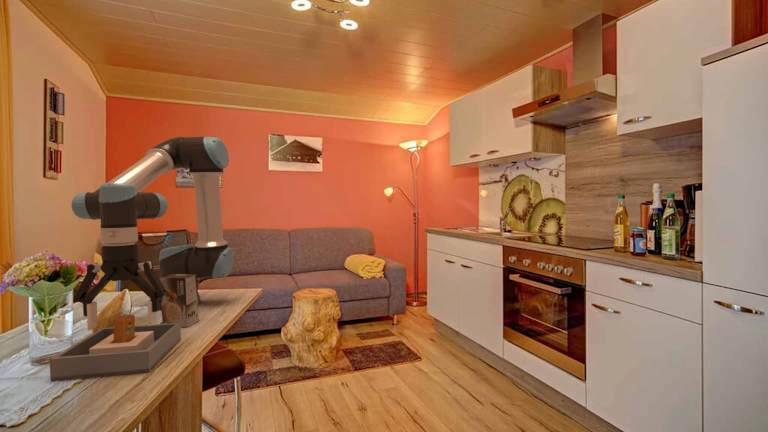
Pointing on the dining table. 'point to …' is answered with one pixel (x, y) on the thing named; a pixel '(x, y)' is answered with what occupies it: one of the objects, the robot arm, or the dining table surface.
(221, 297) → the dining table surface
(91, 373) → the walled box
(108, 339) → the socket block
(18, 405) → the dining table surface
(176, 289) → the coffee box
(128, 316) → the supplement box
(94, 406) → the dining table surface
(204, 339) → the dining table surface
